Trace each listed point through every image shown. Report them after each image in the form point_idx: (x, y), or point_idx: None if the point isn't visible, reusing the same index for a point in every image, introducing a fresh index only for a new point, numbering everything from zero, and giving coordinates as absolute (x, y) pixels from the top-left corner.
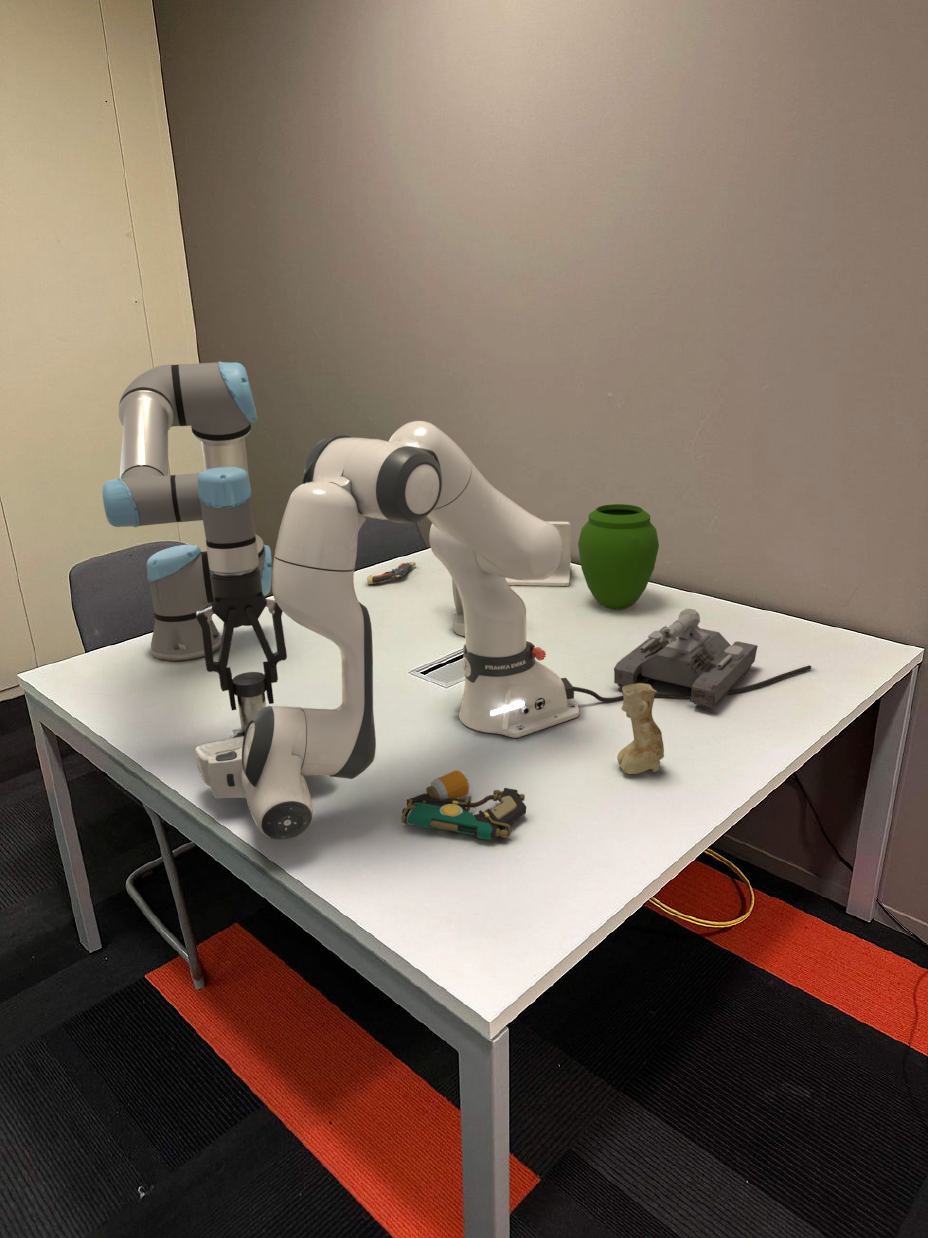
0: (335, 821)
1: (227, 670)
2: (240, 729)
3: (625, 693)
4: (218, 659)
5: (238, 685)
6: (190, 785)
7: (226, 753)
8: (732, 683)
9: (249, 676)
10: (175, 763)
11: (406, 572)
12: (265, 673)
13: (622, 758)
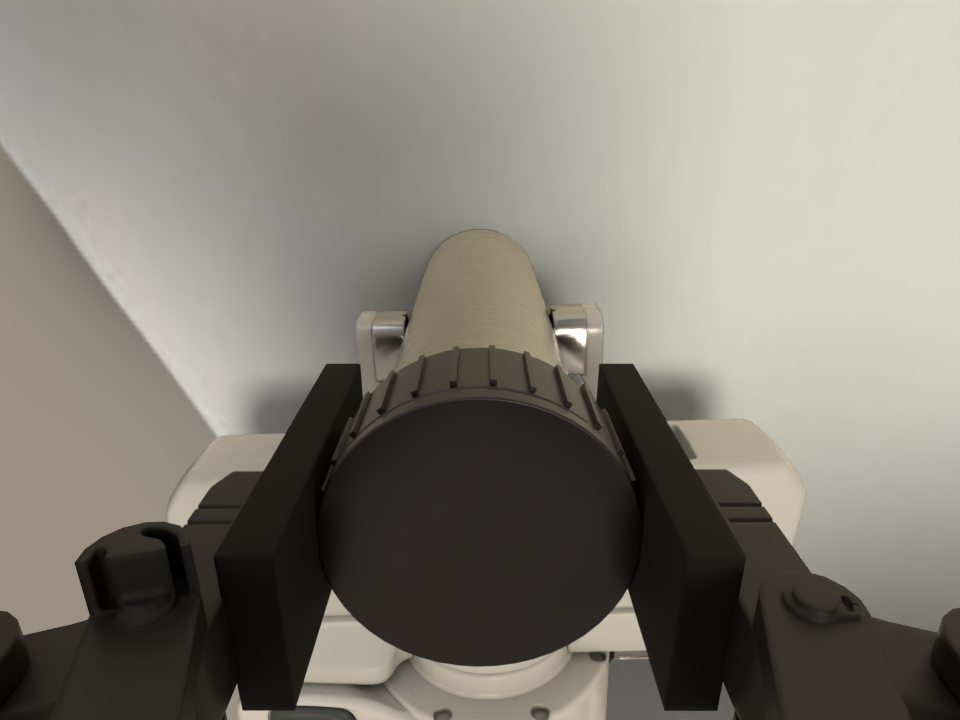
0: (645, 677)
1: (245, 632)
2: (398, 346)
3: None
4: (68, 690)
5: (374, 633)
6: (201, 332)
7: (316, 716)
8: None
9: (491, 505)
10: (106, 113)
11: None
12: (647, 637)
13: None
